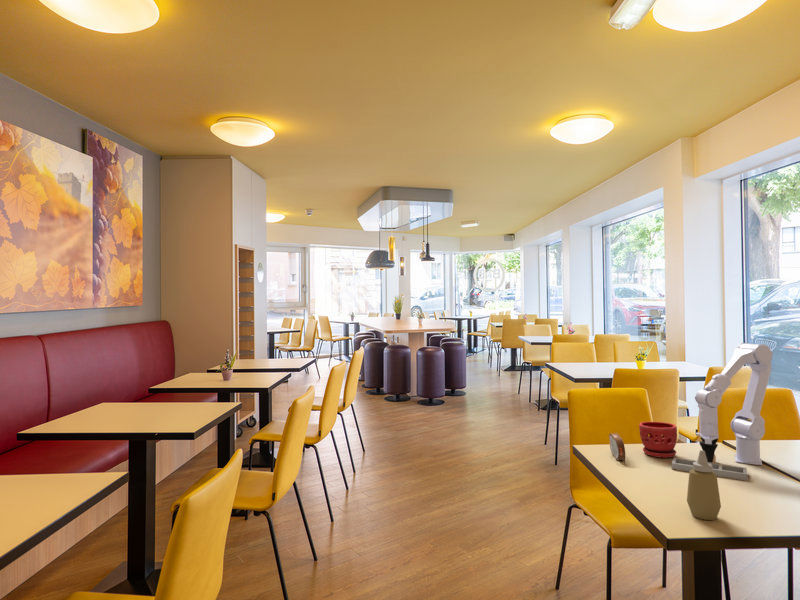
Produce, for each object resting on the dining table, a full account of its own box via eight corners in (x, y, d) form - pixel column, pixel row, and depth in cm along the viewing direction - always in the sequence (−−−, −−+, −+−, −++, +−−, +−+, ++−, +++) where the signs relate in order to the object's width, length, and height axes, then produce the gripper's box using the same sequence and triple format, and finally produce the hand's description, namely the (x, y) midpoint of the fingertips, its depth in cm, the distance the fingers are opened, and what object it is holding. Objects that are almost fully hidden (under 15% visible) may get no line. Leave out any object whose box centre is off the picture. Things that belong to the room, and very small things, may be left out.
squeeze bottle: (680, 510, 137) (678, 447, 137) (707, 509, 138) (705, 446, 138) (700, 523, 129) (698, 455, 129) (728, 522, 129) (727, 454, 130)
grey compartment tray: (673, 463, 179) (673, 457, 179) (746, 473, 167) (746, 467, 167) (671, 469, 172) (671, 463, 173) (747, 480, 160) (747, 474, 160)
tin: (626, 463, 180) (625, 440, 180) (617, 463, 180) (616, 440, 180) (616, 451, 194) (616, 430, 194) (608, 451, 195) (608, 430, 195)
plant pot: (678, 452, 192) (677, 422, 192) (676, 461, 181) (675, 429, 181) (641, 448, 199) (641, 419, 199) (638, 456, 188) (637, 425, 188)
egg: (703, 461, 181) (703, 449, 182) (715, 462, 179) (715, 450, 179) (702, 463, 178) (702, 451, 178) (715, 465, 176) (715, 453, 176)
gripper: (696, 417, 187) (697, 452, 187) (694, 425, 175) (695, 462, 175) (718, 419, 183) (719, 455, 183) (718, 427, 171) (719, 466, 171)
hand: (709, 459), depth 179 cm, fingers open, 7 cm apart
